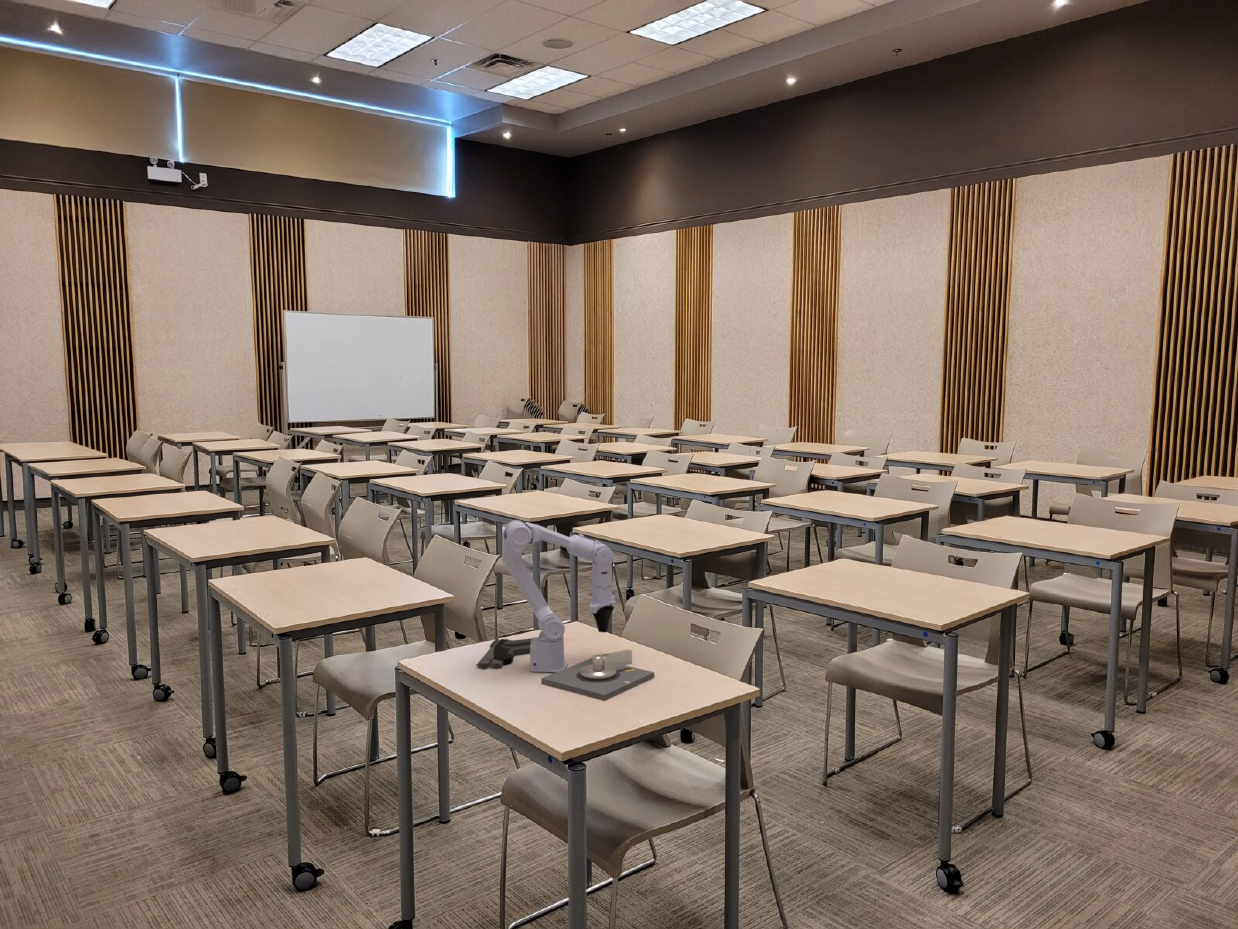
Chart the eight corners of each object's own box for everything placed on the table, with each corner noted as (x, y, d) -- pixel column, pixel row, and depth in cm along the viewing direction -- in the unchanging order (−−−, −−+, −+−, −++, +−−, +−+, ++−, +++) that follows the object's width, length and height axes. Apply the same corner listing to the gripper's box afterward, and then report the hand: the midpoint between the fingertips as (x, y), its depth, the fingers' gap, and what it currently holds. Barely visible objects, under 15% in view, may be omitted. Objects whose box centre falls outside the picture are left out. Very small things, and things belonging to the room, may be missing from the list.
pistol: (543, 638, 276) (496, 637, 277) (525, 664, 250) (474, 662, 252) (543, 645, 276) (496, 644, 278) (526, 671, 251) (474, 670, 252)
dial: (591, 682, 234) (591, 664, 234) (573, 672, 242) (573, 654, 242) (640, 671, 242) (640, 654, 242) (621, 662, 250) (621, 645, 250)
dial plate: (541, 683, 239) (541, 677, 239) (592, 662, 256) (592, 657, 256) (604, 700, 226) (604, 694, 225) (654, 677, 243) (654, 672, 243)
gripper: (605, 592, 246) (605, 639, 247) (624, 581, 259) (624, 626, 260) (582, 590, 248) (582, 637, 249) (602, 579, 262) (602, 624, 263)
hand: (602, 631), depth 255 cm, fingers closed
